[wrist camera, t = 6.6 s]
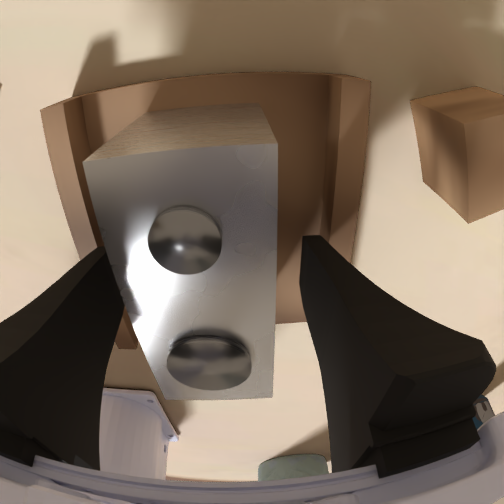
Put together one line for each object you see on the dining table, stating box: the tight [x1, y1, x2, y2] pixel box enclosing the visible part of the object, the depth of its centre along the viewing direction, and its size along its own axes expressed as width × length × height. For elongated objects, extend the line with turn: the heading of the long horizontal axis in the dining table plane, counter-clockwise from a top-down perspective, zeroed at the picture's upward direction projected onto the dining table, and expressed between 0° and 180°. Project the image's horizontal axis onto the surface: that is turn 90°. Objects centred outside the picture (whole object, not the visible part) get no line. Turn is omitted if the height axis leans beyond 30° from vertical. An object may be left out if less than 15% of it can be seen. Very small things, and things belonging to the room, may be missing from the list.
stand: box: [40, 72, 371, 349], centre depth 13 cm, size 12×11×2 cm
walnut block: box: [410, 86, 504, 224], centre depth 10 cm, size 4×4×4 cm
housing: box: [82, 103, 278, 400], centre depth 11 cm, size 4×9×6 cm, turn 2°
